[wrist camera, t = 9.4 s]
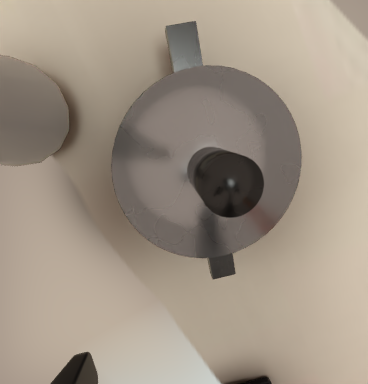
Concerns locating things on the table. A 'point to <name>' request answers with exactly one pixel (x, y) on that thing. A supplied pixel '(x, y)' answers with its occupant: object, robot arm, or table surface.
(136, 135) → the lid
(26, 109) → the salt shaker
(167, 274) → the table surface
